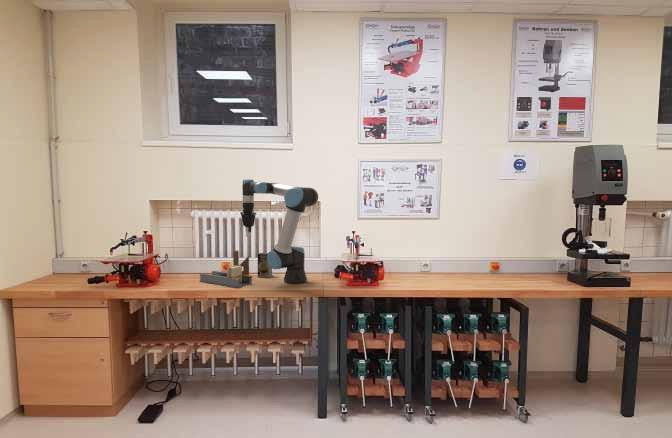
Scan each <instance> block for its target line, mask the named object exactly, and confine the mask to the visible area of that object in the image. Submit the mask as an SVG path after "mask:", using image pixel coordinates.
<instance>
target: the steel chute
mask: <svg viewBox="0 0 672 438" xmlns="http://www.w3.org/2000/svg"><path fill="white" fill-rule="evenodd" d="M252 277H253V276H252V275H250V274H249V275H242V282H240V278H234V277H233V278H230V277H227V271H226V272H225V271H224V272H223V271H220V270H219V271H217V270H212V271H211V274H210V273H205V272H202V273H200V274H199V281H200V282H203V283H208V284H213V285H218V284H220V285H219V286H224V285H225V287H230V286H231V287H232V288H237V289H239V288H243V287H246V285H247V286H249V284H250V285H252V284H253V283H252V281H253V280H252Z"/></svg>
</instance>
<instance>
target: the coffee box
mask: <svg viewBox="0 0 672 438" xmlns="http://www.w3.org/2000/svg"><path fill="white" fill-rule="evenodd" d="M268 253H269V252H268ZM268 253H267V252H260V253H257V277H258V278H259V277H260V278H271V277H272V276H273V268H271V267H270V266H269V264H268V261H267V255H268Z"/></svg>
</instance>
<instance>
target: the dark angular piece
mask: <svg viewBox="0 0 672 438" xmlns="http://www.w3.org/2000/svg"><path fill="white" fill-rule="evenodd" d="M239 253H240V251H239V250H233V252H232V255H233V256H232V260H233V261H232V263H233V264H232V266H235V265H236V266H242V275H250V256H249V255H248V256H247V257H246V258H245V259H244V260H243V261H242V262H241V263H240V260H239V256H240V255H239ZM239 263H240V264H239Z"/></svg>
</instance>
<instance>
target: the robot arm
mask: <svg viewBox="0 0 672 438" xmlns="http://www.w3.org/2000/svg"><path fill="white" fill-rule="evenodd" d="M241 186H242V189H241V190H242V208H243V209H242V211H240V212H239V214H240V216H241V221H242V227H245V233H246V234H245V235H246V238H249V237H251V235H252V234H251V233H252V227H254V225H255V221H256V216H257V212H255V211H254V207H255V203H254V201H255V195H254V194H263V195H264V194H265V195H266V194H268V195H269V194H270V195H276V196H280V197H283V199H284V204H285V208H286V213H285V217H284V220H283V223H282V226H281V230H280V234H279V236H278V240H277V243H276V244H274V246H273V249H272V250H270V251H269V252H268V255H267V261H268V264H269V266H270V267H271V268H272V270H280V269H285V268H286V270H285V274H284V277H283V282H284V283H286V284H290V285H291V284H294V285H297V284H298V285H299V284H304V283H307V282H308V277H307V273H306V271H305V249H304V247H302V246H292V244H293V242H294V237H295V235H296V231H297V228H298V225H299V221H300V218H301V216H302V215H301V214H303V213H305V211H306V208H307V207H308V208H309V207H313V206H315V205H316V204H317V202H318V201H319V193H318V192H317V190H316V189H315V188H313V187H305V186H304V187H301V186H295V187H294V186H290V185H286V184H281V183H278V182H263V181H254V179H246V178H244V179H243V180H242V185H241Z"/></svg>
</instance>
